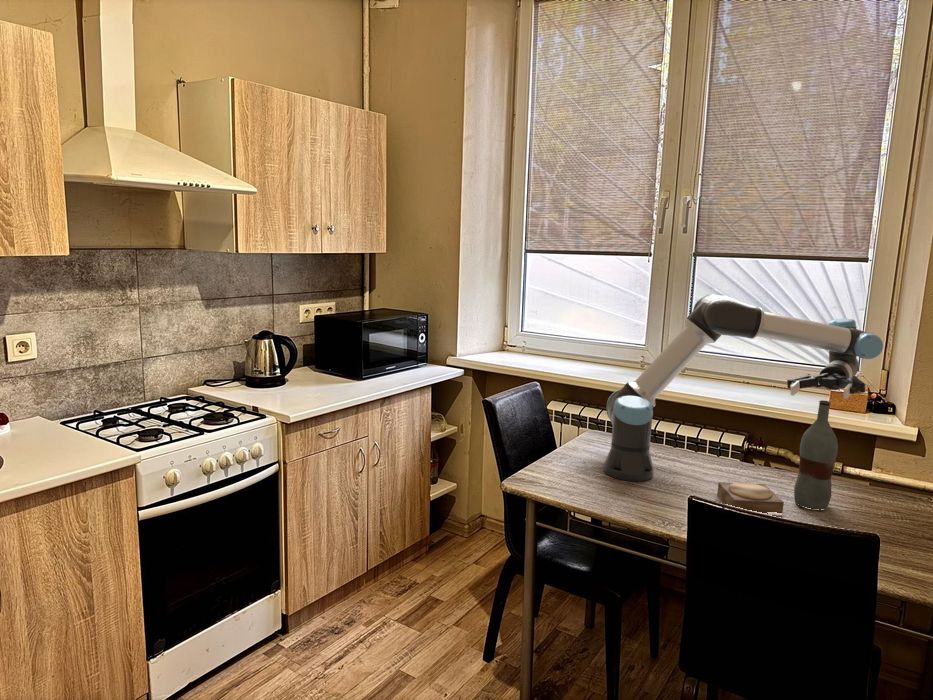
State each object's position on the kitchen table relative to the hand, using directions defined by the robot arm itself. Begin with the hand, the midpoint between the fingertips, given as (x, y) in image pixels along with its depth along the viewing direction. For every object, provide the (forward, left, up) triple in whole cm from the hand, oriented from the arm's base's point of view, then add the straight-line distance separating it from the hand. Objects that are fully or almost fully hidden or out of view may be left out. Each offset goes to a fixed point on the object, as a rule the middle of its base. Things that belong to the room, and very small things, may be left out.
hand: (817, 392), depth 186 cm
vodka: (+6, -1, -32) cm, 32 cm away
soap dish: (+8, -19, -31) cm, 37 cm away
